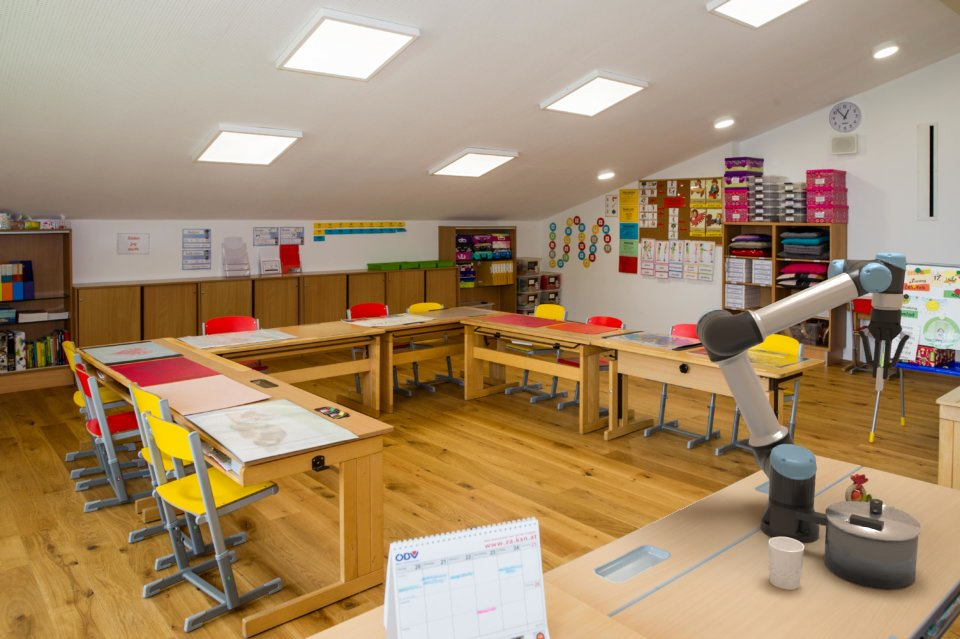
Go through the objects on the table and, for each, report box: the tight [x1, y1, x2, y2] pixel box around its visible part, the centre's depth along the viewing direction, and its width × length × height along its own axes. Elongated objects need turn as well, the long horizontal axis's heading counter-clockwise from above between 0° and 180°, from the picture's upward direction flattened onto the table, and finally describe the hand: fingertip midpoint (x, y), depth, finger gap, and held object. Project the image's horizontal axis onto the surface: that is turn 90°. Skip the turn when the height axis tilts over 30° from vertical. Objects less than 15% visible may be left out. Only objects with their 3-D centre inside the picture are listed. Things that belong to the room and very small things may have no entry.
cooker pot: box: [795, 508, 919, 591], centre depth 179 cm, size 28×20×12 cm
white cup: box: [768, 537, 805, 591], centre depth 171 cm, size 8×8×10 cm
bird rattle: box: [844, 473, 873, 502], centre depth 213 cm, size 6×11×9 cm
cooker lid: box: [824, 498, 921, 541], centre depth 176 cm, size 21×21×4 cm
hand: (879, 389), depth 203 cm, fingers closed
